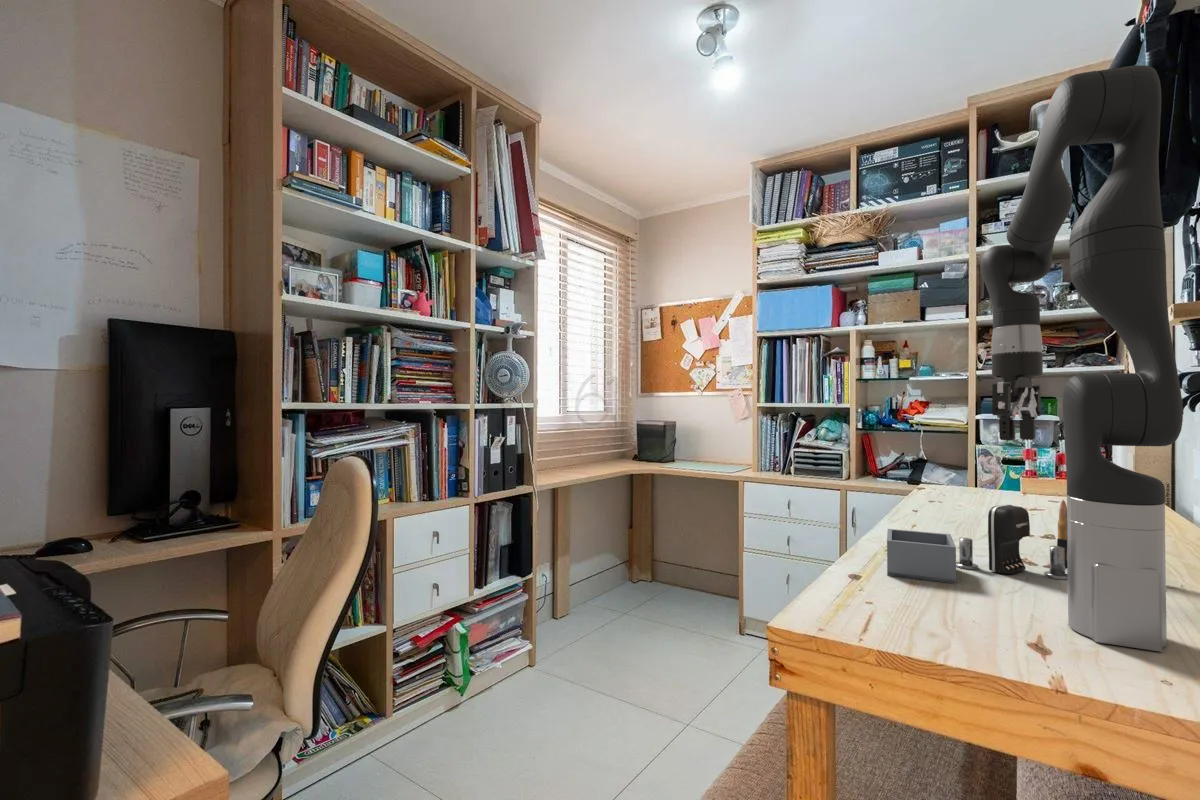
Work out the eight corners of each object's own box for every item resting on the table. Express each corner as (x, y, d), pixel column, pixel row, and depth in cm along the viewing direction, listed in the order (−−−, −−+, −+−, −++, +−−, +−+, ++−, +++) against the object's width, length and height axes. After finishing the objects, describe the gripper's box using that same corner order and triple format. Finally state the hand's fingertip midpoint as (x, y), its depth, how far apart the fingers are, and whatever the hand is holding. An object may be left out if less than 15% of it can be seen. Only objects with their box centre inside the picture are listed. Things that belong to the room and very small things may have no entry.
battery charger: (1011, 577, 94) (1010, 509, 94) (987, 571, 97) (986, 506, 97) (1033, 571, 97) (1032, 506, 97) (1009, 566, 101) (1008, 502, 101)
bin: (956, 584, 91) (955, 547, 91) (887, 575, 96) (887, 540, 96) (950, 567, 100) (950, 534, 100) (887, 560, 104) (887, 528, 104)
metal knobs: (1074, 581, 92) (1073, 551, 92) (955, 567, 100) (955, 539, 100) (1068, 575, 95) (1067, 546, 95) (953, 562, 103) (953, 535, 103)
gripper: (1023, 347, 96) (1025, 441, 95) (1056, 352, 103) (1058, 440, 103) (975, 351, 102) (976, 439, 101) (1009, 356, 110) (1011, 438, 109)
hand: (1017, 440), depth 102 cm, fingers open, 8 cm apart
